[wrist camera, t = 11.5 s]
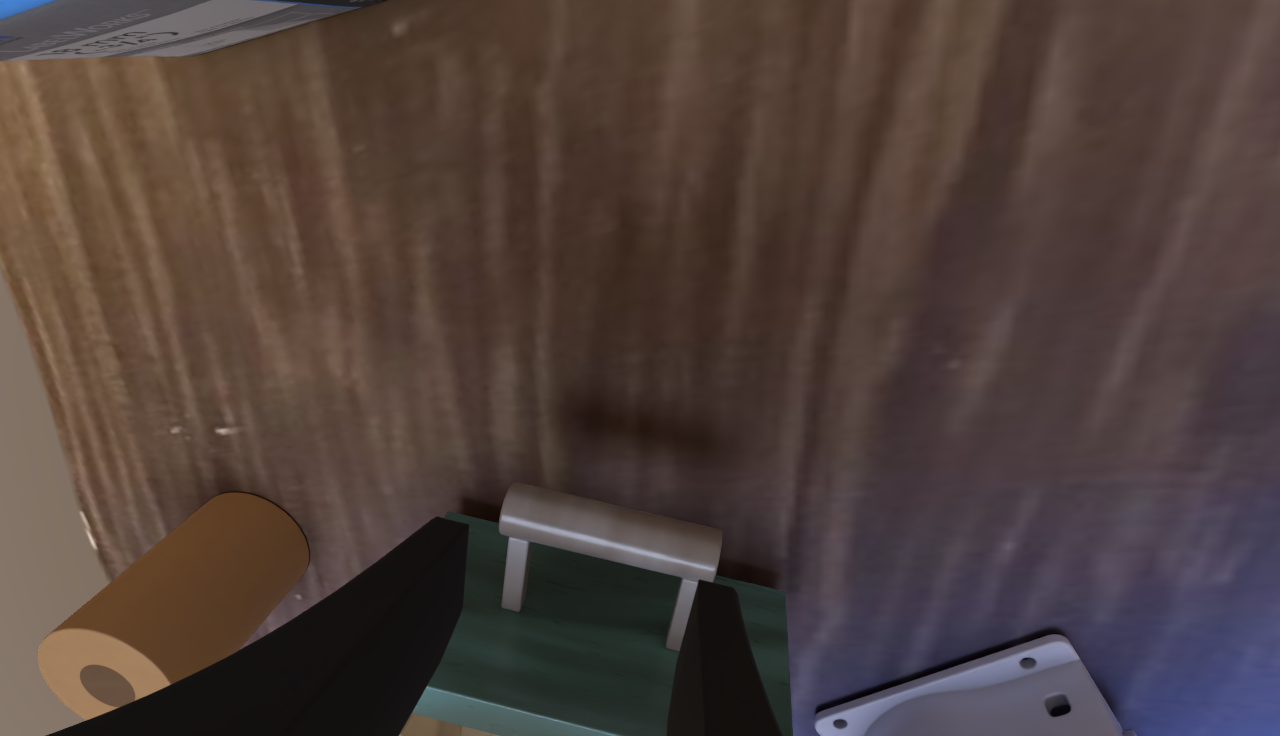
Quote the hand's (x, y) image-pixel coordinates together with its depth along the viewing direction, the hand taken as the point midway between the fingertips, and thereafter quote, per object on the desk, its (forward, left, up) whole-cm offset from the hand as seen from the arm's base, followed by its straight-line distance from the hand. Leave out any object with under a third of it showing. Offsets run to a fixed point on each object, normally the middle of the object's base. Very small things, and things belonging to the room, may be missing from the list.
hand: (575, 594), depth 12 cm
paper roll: (+18, -2, -10) cm, 21 cm away
